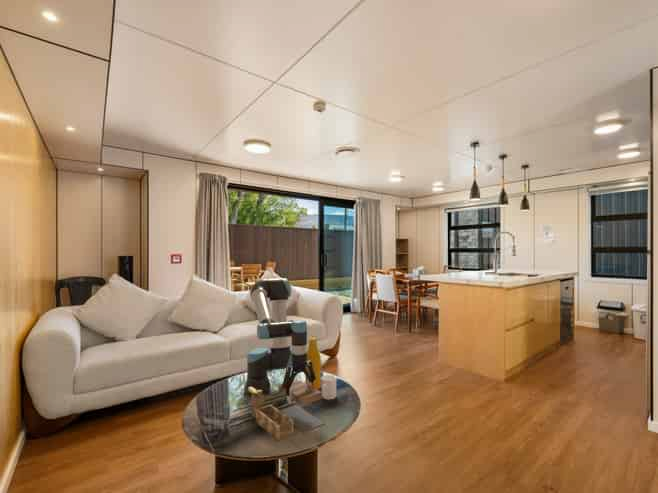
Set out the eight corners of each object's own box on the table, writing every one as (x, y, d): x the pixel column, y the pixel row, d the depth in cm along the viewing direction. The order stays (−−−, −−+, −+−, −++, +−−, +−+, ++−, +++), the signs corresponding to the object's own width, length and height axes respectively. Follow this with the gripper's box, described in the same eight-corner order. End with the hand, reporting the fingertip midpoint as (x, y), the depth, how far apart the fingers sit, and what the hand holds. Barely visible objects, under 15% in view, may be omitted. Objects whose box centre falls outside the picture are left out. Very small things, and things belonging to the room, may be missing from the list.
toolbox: (248, 416, 156) (248, 393, 156) (263, 410, 161) (263, 388, 161) (277, 441, 135) (277, 414, 135) (293, 434, 140) (293, 408, 140)
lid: (278, 392, 159) (278, 384, 159) (297, 387, 166) (297, 379, 166) (302, 407, 143) (302, 398, 143) (321, 400, 150) (321, 392, 150)
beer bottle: (302, 388, 188) (301, 339, 189) (312, 383, 196) (312, 335, 196) (314, 392, 183) (313, 341, 183) (324, 387, 190) (323, 338, 191)
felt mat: (276, 412, 159) (276, 412, 159) (296, 405, 167) (296, 404, 167) (303, 433, 141) (303, 432, 141) (324, 423, 149) (324, 423, 149)
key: (248, 390, 164) (248, 385, 164) (251, 389, 165) (251, 384, 165) (258, 397, 155) (258, 392, 155) (261, 396, 157) (261, 390, 157)
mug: (329, 404, 168) (329, 384, 169) (315, 401, 172) (315, 381, 172) (338, 394, 179) (338, 376, 179) (325, 392, 183) (325, 374, 183)
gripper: (282, 359, 144) (282, 408, 144) (322, 349, 159) (323, 394, 159) (274, 355, 150) (274, 403, 150) (314, 346, 165) (314, 389, 164)
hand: (299, 398), depth 154 cm, fingers closed on lid, 11 cm apart
